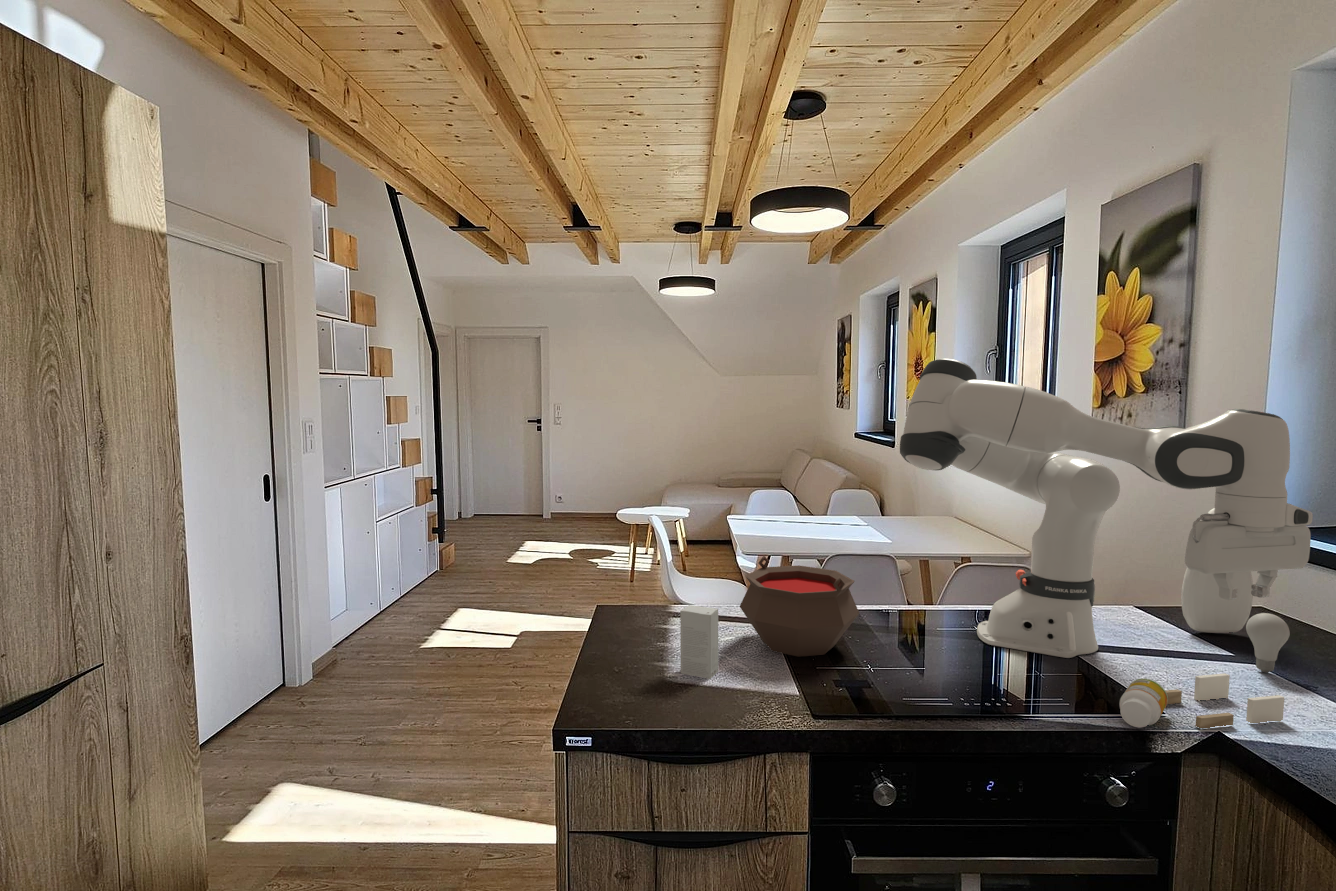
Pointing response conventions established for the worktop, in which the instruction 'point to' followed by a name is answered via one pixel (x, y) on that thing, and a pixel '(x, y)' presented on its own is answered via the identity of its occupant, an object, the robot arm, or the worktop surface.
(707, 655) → the skincare box
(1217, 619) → the soap bottle
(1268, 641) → the lightbulb
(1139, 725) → the supplement bottle
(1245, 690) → the worktop surface
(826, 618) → the brown pot
